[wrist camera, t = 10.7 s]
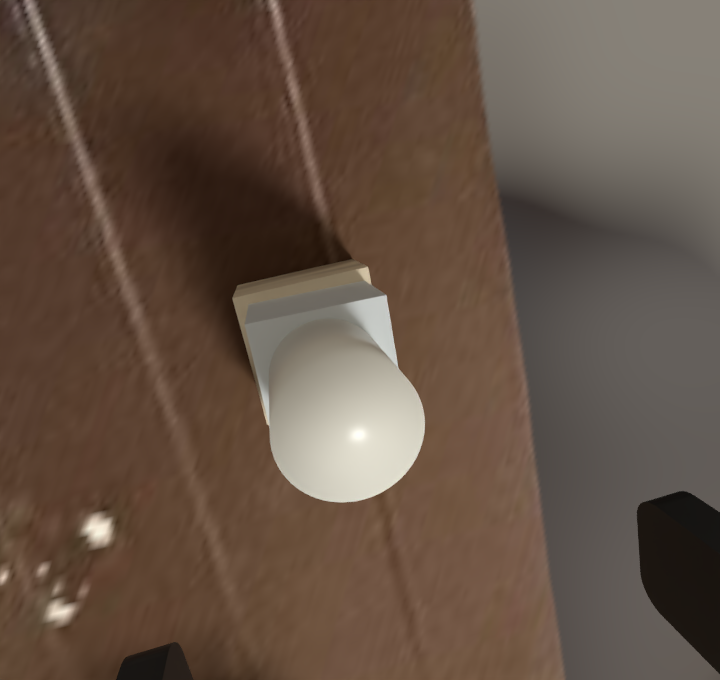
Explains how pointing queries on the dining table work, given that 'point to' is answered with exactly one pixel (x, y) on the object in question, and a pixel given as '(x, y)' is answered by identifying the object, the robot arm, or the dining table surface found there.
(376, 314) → the grey top block
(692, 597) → the robot arm
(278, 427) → the white cylinder
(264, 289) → the oak base block
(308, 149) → the dining table surface
